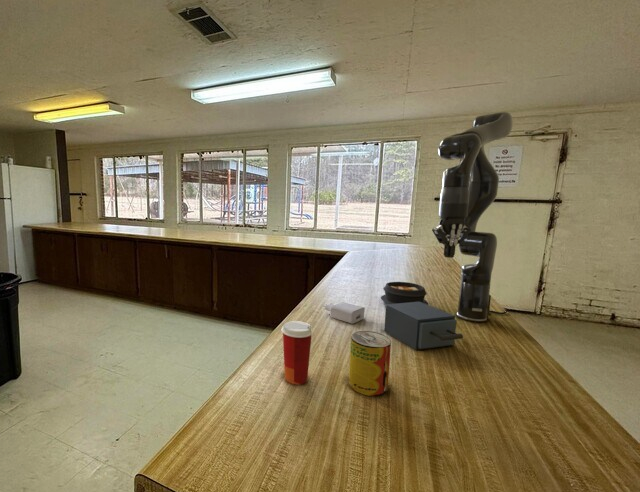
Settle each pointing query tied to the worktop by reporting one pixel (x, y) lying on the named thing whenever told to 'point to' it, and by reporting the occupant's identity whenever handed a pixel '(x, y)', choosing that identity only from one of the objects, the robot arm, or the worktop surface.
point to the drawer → (437, 333)
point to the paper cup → (296, 351)
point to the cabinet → (410, 320)
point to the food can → (369, 363)
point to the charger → (346, 312)
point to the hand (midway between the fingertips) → (448, 257)
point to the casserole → (403, 293)
